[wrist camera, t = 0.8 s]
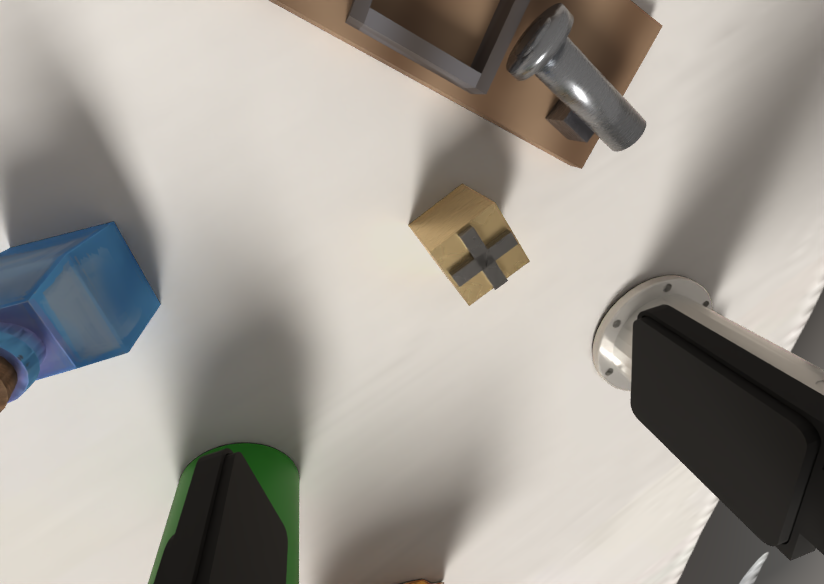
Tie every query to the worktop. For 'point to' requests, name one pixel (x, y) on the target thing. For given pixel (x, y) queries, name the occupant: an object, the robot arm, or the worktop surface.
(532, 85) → the stand
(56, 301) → the perfume bottle
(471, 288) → the coupling block
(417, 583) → the pancake mix bag
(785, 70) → the worktop surface
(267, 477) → the green bottle
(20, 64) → the worktop surface
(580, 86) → the shaft
